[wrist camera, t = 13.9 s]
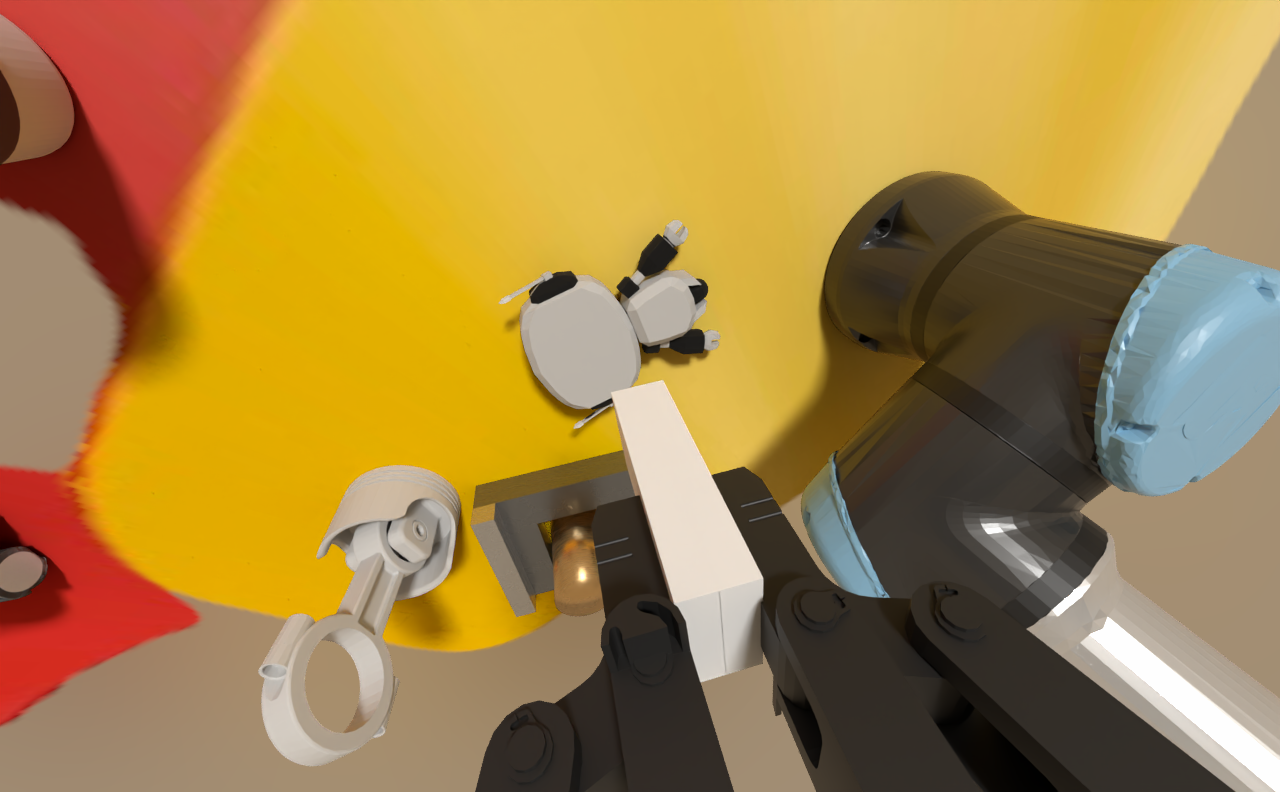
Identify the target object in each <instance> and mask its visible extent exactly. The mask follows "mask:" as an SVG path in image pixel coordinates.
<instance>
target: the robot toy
mask: <svg viewBox="0 0 1280 792" xmlns="http://www.w3.org/2000/svg"><path fill="white" fill-rule="evenodd" d="M681 225H683V224H682V223H681V222H680V221H679V220H673V221H672V222H670V223H669V224H668V225H666V228H665V232H664V235H663V237H661V236H660V235H659V234H657V235H656V236H655V237H654V238H653V240H652V241H651V242H650V243H649V244H648V245H647V247H646V248H645V249H644V250H643V251H642V253H641V257H640V261H639V265H638V270H637V271H636V272H635V273H634V274H633V276H632V277H631V278H629V277H624V279H623V280H622V281H621V282H620V283H619V284H618V286H617V289H618V290H619V291H620V292H621V293H622V295H621V299H620V303H619V302H618V300H617V299H616V298H615V296H614V295H613V294H612V293H611V292H610V290H609V289H608V288H607V287H606V286H605V285H604V284H603V283H602V282H601V281H599V280H597V279H595V278H593V277H592V276H590V275H574V274H573V273H572V272H571V271H566V272H556V273H554V274H552V273H551V272H550V271H547V272H545V273H544V274H542V275H541V277H540V278H539V279H537V280H535V281H533V282H532V283H530V284H528V285H526V286H525V287H523V288H521V289H519V290H518V291H516V292H514V293H512V294H511V295H509V296H508V295H507V296H506V297H504V298H502V299H501V301H500V302H499V304H502V303H506V302H508V301H510V300H511V299H512V298H513V297H515V296H517V295H519V294H520V293H522V292H524V291H526V290H527V289H529V288H531V287H532V288H531V289H530V291H529V295H530V298H529V299H528V300H527V301H526V302H525V304H524V305H523V306H522V307H521V313H520V320H519V321H520V330H521V336H522V341H523V345H524V349H525V352H526V355H527V357H528V360H529V362H530V365H531V367H532V370H533V372H534V374H535V376H536V377H537V378H538V379H539V380H540V381H541V382H542V384H543V385H544V386H545V387H546V388H547V389H548V391H549V392H550V393H551V394H552V395H554V396H555V397H556V398H557V399H558V400H559V401H561V402H562V403H564V404H565V405H568V406H570V407H573V408H575V409H590V408H591V409H592V410H593V409H598V408H599V409H598V410H596V411H595V412H594V413H592V414H591V415H589V416H588V417H586V418H585V419H583V420H582V421H581V420H580V421H579V422H578V423H576V424H575V426H574V428H580V427H581V426H583V425H584V423H586V422H587V421H588V420H590V419H591V418H593V417H594V416H596V415H597V414H599V413H600V412H602V411H603V410H605V409H606V408H607V407H609V406H610V407H612V406H613V405H614V404H613V400H612V395H611V392H614V391H619V390H623V389H627V388H630V387H631V386H632V385H633V384H634V383H635V382H636V380H637V379H638V376H639V372H640V368H641V357H640V348H639V344H638V340H639V342H640V343H642V348H643V351H644V352H645V353H658V352H659V350H660V348H666V347H669V348H671V349H673V350H675V351H677V352H680V353H682V354H694V353H703V350H704V349H705V350H707V351H710V350H713V349H717V347H718V346H719V342H718V341H712V340H714V339H720V335H719V333H718V331H714V330H708V331H706V332H704V333H703V332H702V330H700V329H691V328H692V326H693V324H694V322H695V321H696V320H697V319H698V318H699V317H700V316H701V315H702V314H703V313H704V312H705V309H706V303H707V301H706V300H705V299H704V298H705V297H706V296H707V293H708V286H707V284H706V282H705V281H704V280H702V279H695V278H694V277H693V276H691V275H690V274H689V273H687V272H686V271H684V270H676V271H668V270H666V269H664V268H665V267H666V266H667V264H668V263H669V262H670V261H671V260H672V259H673V258H674V256H675V255H676V254H677V253H678V252H677V251H676V250H675V249H674V248H673V247H676V246H678V245H680V244H683V243H684V241H685V239H686V238H687V236H688V229H687V228H686V227H684V226H683V227H682V229H681V230H680V231H679V232H678V233H677V234H675V233H676V231H677V230H678V229H679V228H680V226H681ZM637 339H638V340H637Z"/></svg>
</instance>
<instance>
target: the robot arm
mask: <svg viewBox="0 0 1280 792" xmlns="http://www.w3.org/2000/svg"><path fill="white" fill-rule="evenodd" d="M825 301H826V306H827V310H828V313H829V315H830V318H831V320H832V321H833V323H834V325H835V326H836V327H837V328H838V329H839V330H840V332H842V333H843V334H844V335H845V336H847V337H848V338H850V339H851V340H853V341H854V342H856V343H857V344H858V345H860V346H862V347H864V348H866V349H869V350H872V351H875V352H880V353H885V354H890V355H895V356H901V357H906V358H911V359H916V360H921V361H924V362H926V363H925V364H924V365H923V366H922V367H921V368H920V369H919V370H918V371H917V372H916V373H915V374H914V375H913V376H912V377H911V378H910V379H909V380H908V381H907V382H906V383H905V384H904V385H903V386H902V387H901V388H900V389H899V390H898V391H897V392H896V393H895V394H894V395H893V396H892V397H891V398H890V399H889V400H888V401H887V402H886V403H885V404H884V405H883V406H882V407H881V408H880V409H879V410H878V411H877V412H876V413H875V414H874V415H873V417H872V418H871V419H870V420H869V421H868V422H867V423H866V424H865V425H864V426H863V427H862V428H861V429H860V430H859V431H858V432H857V433H856V434H855V435H854V436H853V437H852V438H851V439H850V440H849V441H848V442H847V443H846V444H845V445H844V446H843V447H842V448H841V449H840V450H839V451H836V452H833V453H832V454H831V455H830V457H829V460H828V463H827V464H826V465H825V466H824V467H823V468H822V469H821V471H820V472H819V473H818V474H817V475H816V476H815V477H814V479H813V480H812V481H811V482H810V483H809V484H808V486H807V487H806V488H805V490H804V493H803V495H802V499H801V512H802V518H803V522H804V524H805V527H806V529H807V532H808V535H809V538H810V540H811V542H812V544H813V546H814V548H815V550H816V552H817V554H818V555H819V557H820V559H821V560H822V562H823V564H824V565H825V567H826V568H827V570H828V571H829V573H830V574H831V575H832V577H833V578H834V580H835V581H836V582H837V584H838V585H839V586H840V587H839V586H837V585H835V584H834V583H832V582H831V581H830V580H829V579H828V578H826V577H825V576H824V575H823V573H822V572H821V571H820V570H819V568H818V567H817V565H816V564H815V562H814V561H813V559H812V558H811V556H810V554H809V553H808V552H807V550H806V548H805V547H804V545H803V544H802V542H801V540H800V539H799V537H798V536H797V534H796V532H795V531H794V529H793V528H792V526H791V525H790V523H789V522H788V520H787V518H786V517H785V515H784V514H782V511H781V509H780V507H779V506H778V504H777V503H776V501H775V500H773V497H772V495H771V493H770V492H769V490H768V489H767V487H766V485H765V484H764V482H763V481H762V479H760V478H759V477H758V476H756V475H755V474H753V473H752V472H751V471H749V470H748V469H746V468H745V467H741V468H737V469H733V470H729V471H725V472H721V473H717V474H714V475H711V474H710V472H709V470H708V468H707V466H706V464H705V462H704V460H703V458H702V456H701V454H700V452H699V450H698V448H697V446H696V444H695V442H694V440H693V438H692V436H691V434H690V432H689V430H688V429H687V427H686V425H685V423H684V421H683V419H682V417H681V415H680V413H679V411H678V409H677V407H676V405H675V403H674V401H673V399H672V397H671V395H670V393H669V391H668V389H667V387H666V385H665V383H664V381H663V380H661V381H657V382H653V383H648V384H644V385H640V386H636V387H631V388H627V389H623V390H619V391H614V392H611V395H612V400H613V404H614V409H615V414H616V418H617V423H618V428H619V432H620V437H621V442H622V446H623V451H624V456H625V460H626V465H627V469H628V472H629V476H630V479H631V483H632V486H633V490H634V494H635V496H634V497H630V498H626V499H622V500H619V501H615V502H611V503H607V504H603V505H599V506H597V509H596V512H595V515H594V518H593V521H592V524H591V528H592V534H593V541H594V547H595V554H596V560H597V565H598V566H597V567H598V573H599V579H600V586H601V592H602V599H603V605H604V612H605V618H606V621H605V624H604V626H603V628H602V635H601V648H602V651H603V654H604V656H603V658H602V660H601V663H600V665H599V666H598V667H597V669H596V670H595V672H594V673H593V674H592V675H591V677H589V678H588V679H587V680H586V681H585V682H584V683H582V684H581V685H580V686H579V687H577V688H576V689H574V690H573V691H572V692H570V693H569V694H567V695H566V696H565V697H563V698H562V699H560V700H559V701H558V702H556V703H555V704H554V703H549V702H544V701H536V702H532V703H528V704H524V705H522V706H520V707H519V708H517V709H516V710H514V711H513V712H511V713H510V714H509V715H507V716H506V717H505V719H504V720H503V721H502V722H501V724H500V725H499V726H498V727H497V729H496V730H495V731H494V733H493V735H492V738H491V740H490V743H489V745H488V747H487V750H486V752H485V756H484V759H483V763H482V767H481V771H480V775H479V779H478V783H477V787H476V791H475V792H734V790H733V787H732V784H731V781H730V777H729V774H728V771H727V767H726V765H725V761H724V758H723V754H722V751H721V748H720V745H719V741H718V738H717V735H716V732H715V728H714V725H713V722H712V719H711V715H710V712H709V709H708V706H707V702H706V699H705V696H704V692H703V689H702V686H701V683H700V682H703V681H706V680H710V679H713V678H716V677H719V676H723V675H726V674H730V673H733V672H736V671H739V670H743V669H746V668H749V667H753V666H756V665H759V664H763V652H764V655H765V657H766V659H767V662H768V664H769V666H770V668H771V671H772V673H773V675H774V676H773V706H774V711H775V715H776V716H777V715H780V714H781V710H782V711H783V714H784V716H785V719H786V721H787V723H788V726H789V728H790V731H791V733H792V735H793V738H794V740H795V742H796V745H797V747H798V749H799V752H800V754H801V756H802V759H803V761H804V764H805V766H806V768H807V771H808V773H809V775H810V778H811V780H812V782H813V784H814V787H815V789H816V792H1280V698H1278V697H1277V696H1276V695H1274V694H1273V693H1272V692H1270V691H1269V690H1268V689H1266V688H1265V687H1264V686H1262V685H1261V684H1260V683H1259V682H1257V681H1256V680H1255V679H1253V678H1252V677H1251V676H1249V675H1248V674H1247V673H1246V672H1244V671H1243V670H1242V669H1240V668H1239V667H1238V666H1236V665H1235V664H1234V663H1232V662H1231V661H1230V660H1228V659H1227V658H1226V657H1225V656H1223V655H1222V654H1221V653H1219V652H1218V651H1217V650H1215V649H1214V648H1213V647H1211V646H1210V645H1209V644H1208V643H1206V642H1205V641H1203V640H1202V639H1201V638H1200V637H1198V636H1197V635H1196V634H1194V633H1193V632H1192V631H1190V630H1189V629H1188V628H1187V627H1185V626H1184V625H1183V624H1181V623H1180V622H1178V621H1177V620H1176V619H1175V618H1173V617H1172V616H1171V615H1170V614H1168V613H1167V612H1166V611H1164V610H1163V609H1162V608H1160V607H1159V606H1158V605H1156V604H1155V603H1154V602H1152V601H1151V600H1150V599H1148V598H1147V597H1146V596H1145V595H1143V594H1142V593H1141V592H1139V591H1138V590H1137V589H1135V588H1134V587H1133V586H1132V585H1130V584H1129V583H1128V582H1126V581H1125V580H1124V579H1122V578H1121V576H1120V574H1119V572H1118V570H1117V565H1116V554H1115V544H1114V539H1113V537H1112V536H1111V535H1110V534H1109V533H1108V532H1106V531H1105V530H1104V529H1102V528H1101V527H1100V526H1098V525H1097V524H1096V523H1094V522H1093V521H1092V520H1090V519H1089V518H1087V517H1086V516H1085V515H1083V514H1082V513H1081V512H1080V510H1081V509H1082V508H1083V507H1084V506H1085V505H1086V503H1088V502H1089V501H1091V500H1092V499H1093V498H1094V497H1096V496H1097V495H1098V494H1100V493H1101V492H1103V491H1104V490H1105V489H1106V488H1108V487H1109V486H1111V485H1112V484H1113V485H1114V486H1116V487H1117V488H1119V489H1120V490H1122V491H1125V492H1134V493H1137V494H1139V495H1144V496H1161V495H1166V494H1170V493H1173V492H1176V491H1179V490H1181V489H1182V488H1183V487H1184V486H1185V485H1186V484H1187V483H1188V482H1197V481H1199V480H1201V479H1202V478H1204V477H1205V476H1207V475H1208V474H1209V473H1211V472H1213V471H1214V470H1216V469H1217V468H1218V467H1220V466H1221V465H1222V464H1223V463H1224V462H1226V461H1227V460H1228V459H1229V458H1231V457H1232V456H1233V455H1234V454H1235V453H1236V452H1237V451H1238V450H1240V449H1241V447H1242V446H1244V445H1245V444H1246V443H1247V442H1248V441H1249V440H1250V439H1251V438H1252V437H1253V436H1254V435H1255V434H1256V432H1257V431H1258V430H1259V429H1260V428H1261V427H1262V426H1263V424H1265V422H1266V421H1267V420H1268V419H1269V417H1271V415H1272V414H1273V413H1274V411H1275V410H1276V409H1277V407H1278V406H1279V405H1280V271H1278V270H1275V269H1272V268H1268V267H1265V266H1261V265H1257V264H1253V263H1250V262H1246V261H1242V260H1239V259H1235V258H1231V257H1227V256H1224V255H1220V254H1216V253H1213V252H1212V251H1211V250H1209V249H1208V248H1206V247H1203V246H1198V245H1193V244H1185V245H1178V244H1173V243H1168V242H1163V241H1158V240H1153V239H1148V238H1142V237H1137V236H1132V235H1127V234H1122V233H1117V232H1112V231H1107V230H1102V229H1096V228H1091V227H1086V226H1081V225H1076V224H1071V223H1066V222H1061V221H1056V220H1050V219H1045V218H1040V217H1035V216H1031V215H1026V214H1025V213H1024V212H1022V211H1021V210H1020V209H1018V208H1017V207H1016V206H1014V205H1013V204H1012V203H1010V202H1009V201H1008V200H1006V199H1005V198H1003V197H1002V196H1001V195H999V194H998V193H997V192H995V191H994V190H992V189H991V188H990V187H988V186H987V185H986V184H984V183H983V182H981V181H979V180H977V179H975V178H972V177H969V176H966V175H960V174H954V173H947V172H940V171H931V172H922V173H918V174H914V175H911V176H908V177H905V178H903V179H901V180H899V181H897V182H895V183H893V184H891V185H889V186H888V187H886V188H885V189H883V190H882V191H880V192H879V193H878V194H876V195H875V196H874V197H873V198H872V199H870V200H869V201H868V202H867V203H866V204H865V205H864V206H863V207H862V208H861V209H860V210H859V211H858V213H857V214H856V215H855V216H854V217H853V219H852V220H851V221H850V223H849V224H848V225H847V227H846V228H845V230H844V231H843V233H842V235H841V236H840V238H839V240H838V242H837V244H836V246H835V248H834V251H833V253H832V256H831V258H830V262H829V265H828V269H827V273H826V280H825Z"/></svg>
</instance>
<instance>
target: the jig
mask: <svg viewBox="0 0 1280 792" xmlns="http://www.w3.org/2000/svg"><path fill="white" fill-rule="evenodd" d="M634 496H635V494H634V490H633V486H632V483H631V479H630V476H629V472H628V469H627V465H626V460H625V456H624V451H623V450H622V451H618V452H614V453H610V454H606V455H602V456H597V457H593V458H589V459H585V460H581V461H577V462H573V463H569V464H565V465H560V466H556V467H552V468H548V469H544V470H540V471H536V472H532V473H528V474H523V475H519V476H515V477H511V478H507V479H503V480H499V481H495V482H490V483H486V484H482V485H478V486H476V490H475V498H474V505H473V512H472V520H471V527H472V529H473V531H474V533H475V535H476V537H477V539H478V541H479V543H480V545H481V547H482V549H483V551H484V553H485V555H486V557H487V559H488V561H489V563H490V565H491V567H492V569H493V571H494V573H495V575H496V577H497V579H498V581H499V583H500V585H501V587H502V589H503V591H504V593H505V595H506V597H507V599H508V601H509V603H510V605H511V607H512V609H513V611H514V613H515V615H516V617H518V616H522V615H526V614H529V613H533V612H536V594H540V593H544V592H547V591H551V590H554V574H553V555H552V542H551V540H550V537H549V534H548V531H547V529H546V526H545V523H544V522H546V521H550V520H554V519H558V518H562V517H565V516H569V515H573V514H577V513H581V512H585V511H589V510H593V509H597V506H599V505H603V504H607V503H611V502H615V501H619V500H622V499H626V498H630V497H634Z"/></svg>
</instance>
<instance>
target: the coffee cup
mask: <svg viewBox="0 0 1280 792" xmlns="http://www.w3.org/2000/svg"><path fill="white" fill-rule="evenodd" d="M73 125H74V108H73V103H72V99H71V96H70V93H69V90H68V88H67V86H66V84H65V81H64V79H63V78H62V76H61V74H60V73H59V71H58V70H57V68H56V67H55V65H54V64H53V63H52V61H51V60H50V59H49V57H48V56H47V55H46V54H45V53H44V52H43V50H42V49H41V48H40V47H39V46H38V45H37V44H36V43H35V42H34V41H33V40H32V39H31V38H30V37H29V36H28V35H27V34H25V33H24V32H23V31H22V30H21V29H20V28H18V27H17V26H16V25H15V24H13V23H12V22H11V21H9V20H8V19H6V18H5V17H4V16H2V15H1V14H0V165H1V164H5V163H10V162H16V161H21V160H26V159H32V158H37V157H41V156H45V155H47V154H50V153H52V152H54V151H55V150H57V149H59V148H60V147H62V146H63V144H64V143H65V142H66V141H67V140H68V138H69V137H70V135H71V132H72V129H73Z"/></svg>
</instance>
